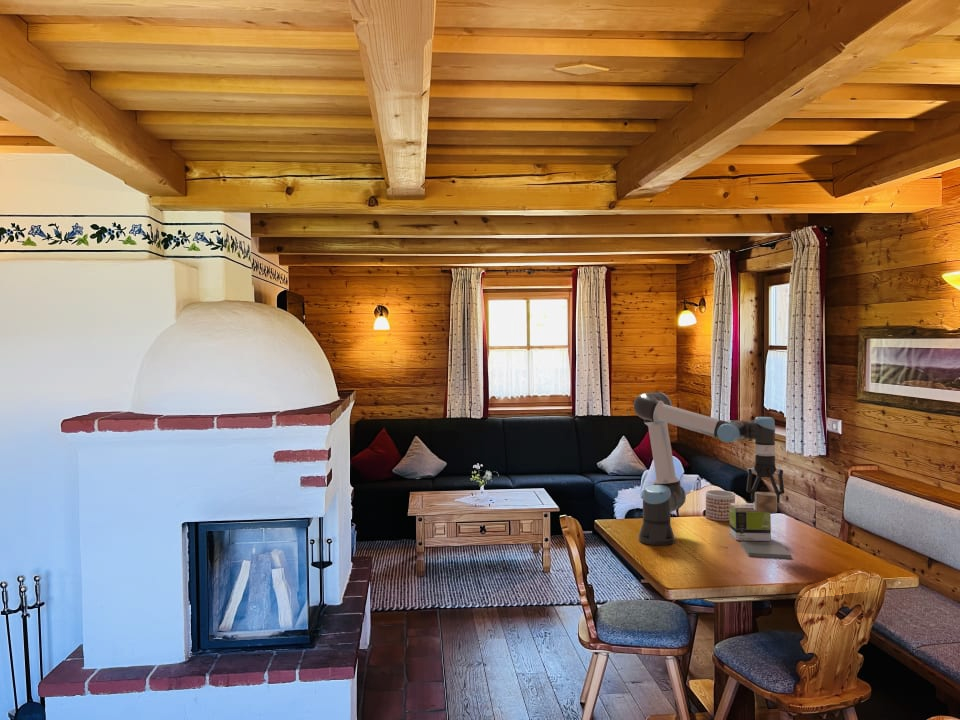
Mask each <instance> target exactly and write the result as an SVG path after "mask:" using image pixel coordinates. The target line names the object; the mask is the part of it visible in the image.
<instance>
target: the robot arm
mask: <svg viewBox="0 0 960 720" xmlns="http://www.w3.org/2000/svg"><path fill="white" fill-rule="evenodd" d="M632 407H633V410H634V413H635V414H636V416H638V417H639V418H640V419H643V423H644V424H645V425H646V426H647V427H648V428H647V429H648V433H649V434H648V435H649V440H650V446H651V453H652V459H653V465H654V471H655V472H654V473H655V480H654V481H653V485H648V486H646V487H644V489H643V491H642V525H641V527H640V530H639V533H638V541H639V542H641V543H643V544H646V545H651V546H671V545H674V544H675V534H674V531H673V527H672V525H671V513H672V512H674V511H677V510H679V509H680V508H681V507H682V506H683V505H684V504H685V502H686V498H687V494H686V491H685V489H684V487H682V485H681V481H680V479H679V478H678V477H677V476H676V471H675V465H674V457H673V451H672V445H671V438H670V434H669V426H668V424H669V425H673V426H677V427H679V428H683V429H686V430H689V431H693V432H696V433H700V434H703V435H707V436H710V437H712V438H716V439H719V440H720V441H721V442H723V443H729V444H730V443H733V442H736V441H739V440H754V443H755V444H754V453H755V455H754V457H755V458H754V459H755V460H754V466H753V467H751V468H750V467H747V468H746V470H747V480H746V481H747V482H746V488H745V491H746V492H747V493H749V494H750V501H751V503H754V510H757V494H756V493H755V492H757V489H758V487H759V484H760V482H761V480H762V478H769V481H770V483H771V485H772V488H773V491H774V494H775V495H776V512H778V504H779V503H780V496H781V495H782V494H783V495H784V494H785V488H784V486H785V485H784V478H783V475H784V470H783V469H781V468H777V467H776V442H775V441H776V426H775V425H776V423H775V422H776V421H775V419H774V418H773V417H772V416H771V417H770V416H756V417H755V419H754V420H753V421H747V420H738V419H733V420H732V419H731V420H722V419H718V418H715V417H711V416H709V415H705V414H701V413H697V412H694V411H690V410H687V409H683V408H680V407H676V406H672V402H671V398H669V396H668V395H666V394H665V393H663V392H659V391H652V392H645V393H641V394H639V395H637V397H635V399H634V401H633V406H632ZM754 471H755V472H756V477H755V480H754V482H753V485H752V481H753V480H752V479H753V474H754ZM775 473H776V474H777V480H778V486H777V482H776V480H775V478H774V474H775Z"/></svg>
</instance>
